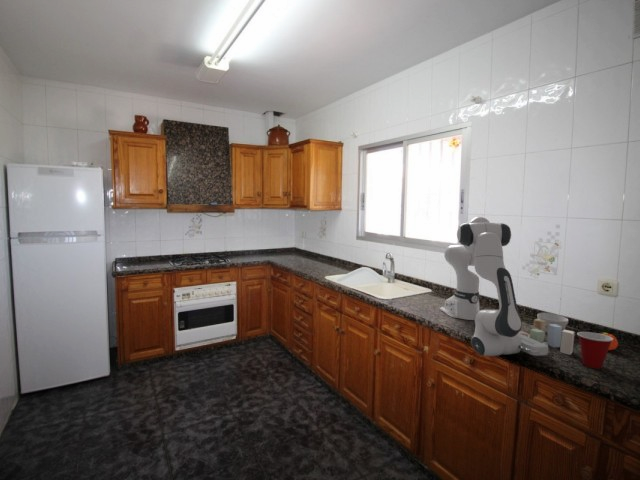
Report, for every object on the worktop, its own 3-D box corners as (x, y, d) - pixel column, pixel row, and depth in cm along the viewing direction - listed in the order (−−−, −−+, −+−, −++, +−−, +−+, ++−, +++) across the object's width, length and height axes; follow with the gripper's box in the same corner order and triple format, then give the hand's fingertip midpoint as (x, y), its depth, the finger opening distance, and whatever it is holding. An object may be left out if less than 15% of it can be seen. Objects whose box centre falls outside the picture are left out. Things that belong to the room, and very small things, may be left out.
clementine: (589, 345, 151) (591, 329, 151) (604, 345, 152) (606, 329, 151) (606, 352, 143) (607, 336, 143) (621, 352, 144) (623, 336, 143)
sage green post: (528, 349, 144) (530, 329, 143) (534, 349, 145) (536, 328, 144) (535, 353, 141) (537, 332, 140) (542, 352, 142) (544, 331, 141)
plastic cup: (590, 358, 137) (593, 329, 136) (617, 371, 127) (621, 339, 126) (566, 359, 136) (569, 330, 135) (592, 372, 125) (595, 340, 124)
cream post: (560, 352, 143) (562, 331, 142) (562, 350, 145) (564, 329, 144) (570, 355, 140) (572, 333, 139) (572, 352, 142) (574, 331, 141)
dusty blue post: (546, 344, 151) (548, 324, 150) (553, 343, 152) (555, 324, 151) (552, 347, 148) (554, 327, 147) (560, 347, 148) (562, 326, 147)
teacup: (555, 338, 158) (557, 321, 157) (529, 329, 169) (531, 313, 168) (576, 334, 164) (577, 318, 163) (549, 326, 175) (551, 311, 174)
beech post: (532, 338, 157) (533, 319, 156) (536, 337, 159) (537, 318, 158) (540, 341, 154) (542, 322, 153) (544, 340, 156) (546, 320, 155)
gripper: (532, 345, 128) (560, 342, 132) (491, 326, 148) (516, 324, 152) (531, 361, 129) (559, 357, 133) (490, 340, 149) (515, 337, 152)
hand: (536, 339), depth 143 cm, fingers open, 8 cm apart
